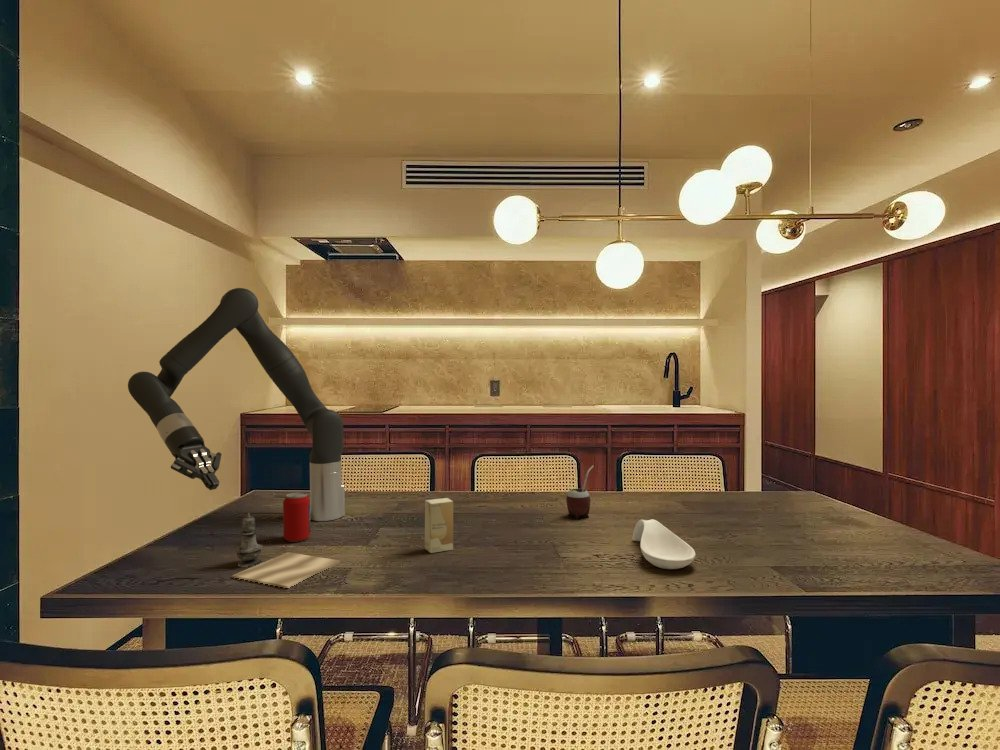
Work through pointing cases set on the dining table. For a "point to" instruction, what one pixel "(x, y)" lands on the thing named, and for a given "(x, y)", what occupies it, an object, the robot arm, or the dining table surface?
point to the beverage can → (296, 517)
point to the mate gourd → (579, 501)
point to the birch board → (286, 569)
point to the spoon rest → (662, 545)
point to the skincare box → (438, 525)
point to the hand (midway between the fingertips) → (214, 487)
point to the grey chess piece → (248, 543)
